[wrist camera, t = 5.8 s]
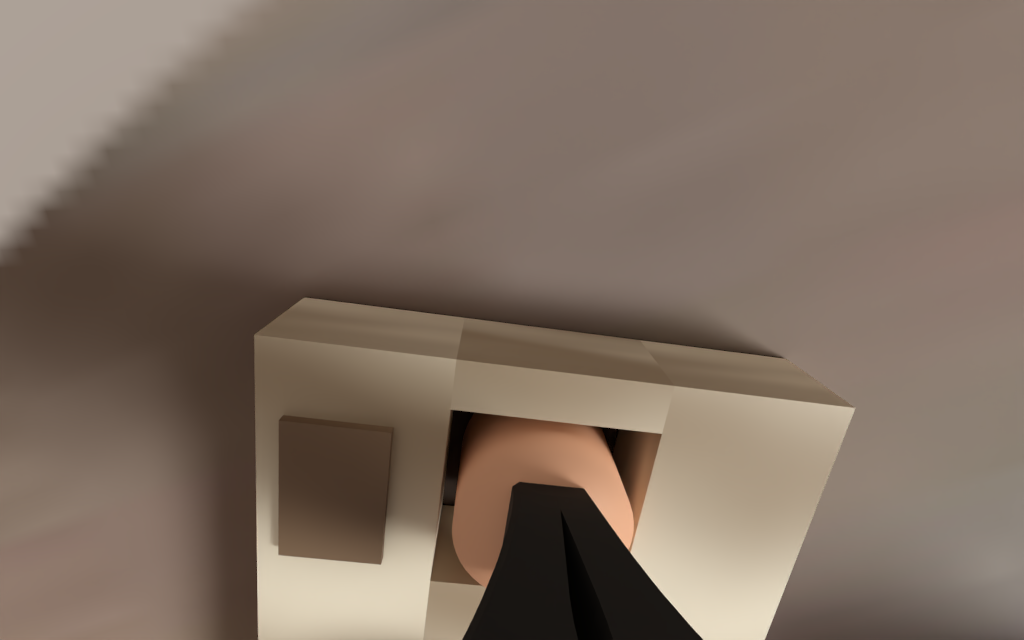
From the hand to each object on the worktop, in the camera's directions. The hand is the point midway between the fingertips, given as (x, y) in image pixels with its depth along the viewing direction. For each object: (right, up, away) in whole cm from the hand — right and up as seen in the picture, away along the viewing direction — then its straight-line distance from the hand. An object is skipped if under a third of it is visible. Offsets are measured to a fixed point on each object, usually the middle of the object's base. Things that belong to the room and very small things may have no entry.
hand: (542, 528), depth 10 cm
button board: (-1, -5, +5) cm, 7 cm away
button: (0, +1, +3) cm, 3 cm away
